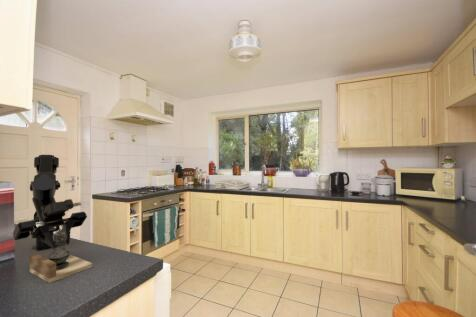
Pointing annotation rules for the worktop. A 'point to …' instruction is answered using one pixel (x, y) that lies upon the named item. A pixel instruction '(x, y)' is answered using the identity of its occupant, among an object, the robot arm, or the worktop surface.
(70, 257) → the board
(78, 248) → the worktop surface
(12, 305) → the worktop surface
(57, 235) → the grey tall rounded piece
